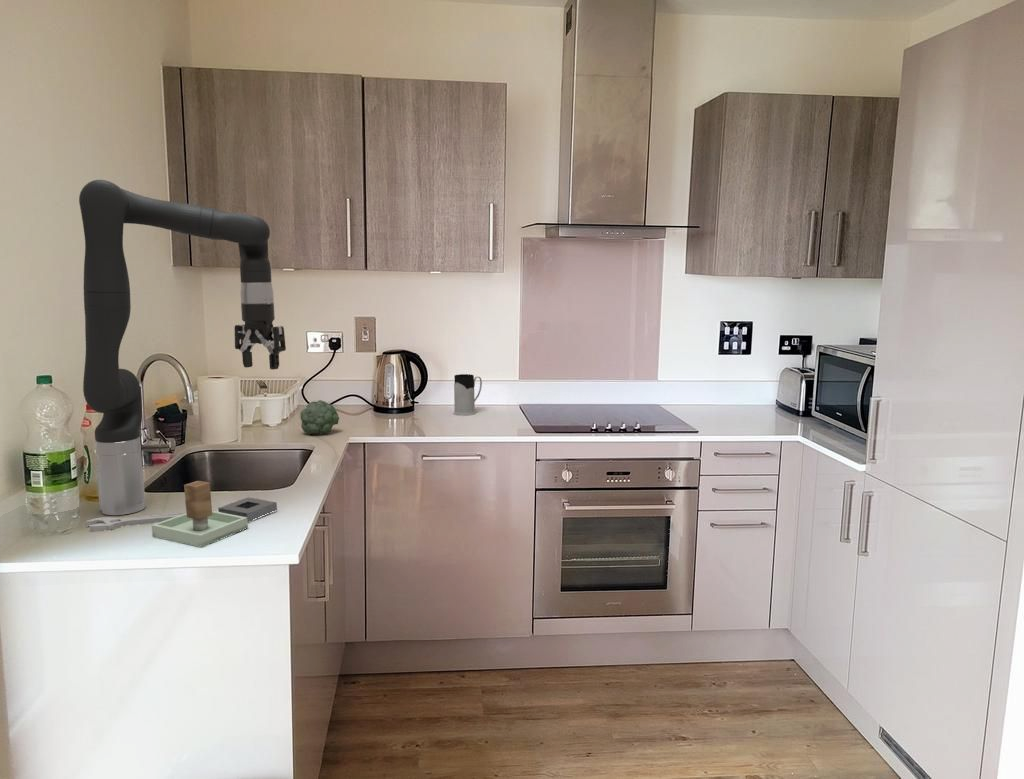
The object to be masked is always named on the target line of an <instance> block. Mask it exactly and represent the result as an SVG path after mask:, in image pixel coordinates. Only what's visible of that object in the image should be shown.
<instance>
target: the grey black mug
mask: <svg viewBox="0 0 1024 779" xmlns="http://www.w3.org/2000/svg"><path fill="white" fill-rule="evenodd" d="M453 376H454V378H453V379H454V384H453V392H454V393H453V394H454V399H453V400H454V403H453V404H454V412H453V415H454V416H460V417H461V416H462V417H464V416H473V415H476V410H475V404H476V401H477V400H478V398H479V396H480V395H481V394H480V393H481V390H482V386H483V385H482V384H483V380H482V378H481V377H480V376H475V375H473V374H467V373H466V374H465V373H463V374H462V373H461V374H455V375H453ZM474 376H475V377H474ZM477 378H478V379H479V382H480V383H479V389H478V393H477V395H476V397H475V387H476V386H475V384H476V381H477V380H476V379H477Z"/></svg>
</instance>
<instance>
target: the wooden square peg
mask: <svg viewBox="0 0 1024 779" xmlns="http://www.w3.org/2000/svg"><path fill="white" fill-rule="evenodd" d="M183 487H184V488H183V489H184V498H185V508H186V509H185V512H187V518H192V520H193V530H194V531H203V530H206V529H208V516H211V515H212V511H213V506H212V496H211V495H212V493H211V483H210V482H208V481H202V480H195V481H192V482H190V483H186V484H183Z"/></svg>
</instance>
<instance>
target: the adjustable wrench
mask: <svg viewBox="0 0 1024 779" xmlns="http://www.w3.org/2000/svg"><path fill="white" fill-rule="evenodd" d="M185 513H187V512H186V511H183V512H176V513H175V512H174V513H166V514H153V515H145V516H133V517H113V516H104V517H103V516H102V517H96V518H92V519H88V520H86V523H85V524H86V526H89V527H88V529H89V532H94V531H97V532H105V531H104V530H107V531H108V530H110V531H112V530H115V529H118V528H117V527H119V528H122V527H121V526H123V527H127V526H126V525H130V526H138V525H137V524H139V525H147V524H148V523H150V524H156V523H155V522H162V521H165V520H168V519H171V518H173V517H176V516H179V515H182V514H185ZM111 529H112V530H111Z"/></svg>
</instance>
